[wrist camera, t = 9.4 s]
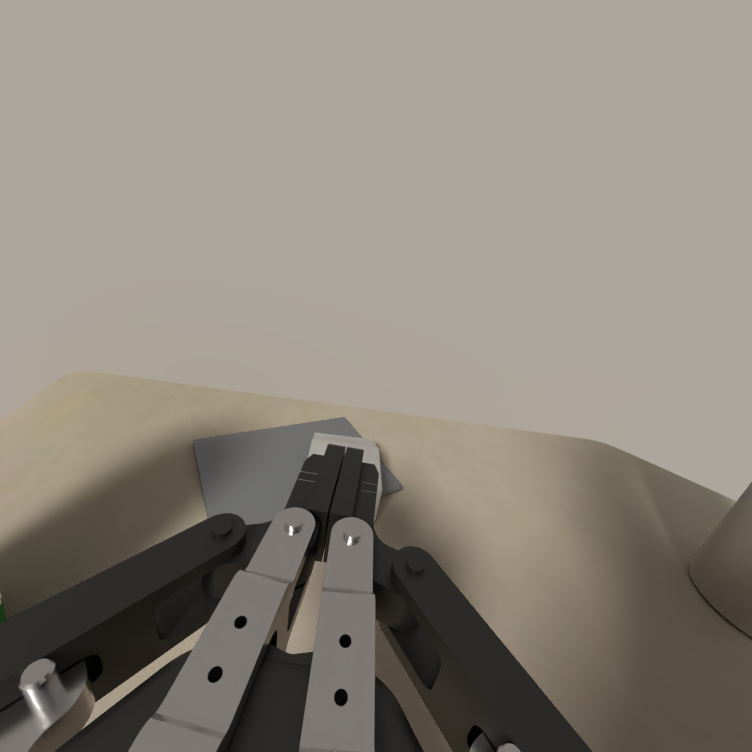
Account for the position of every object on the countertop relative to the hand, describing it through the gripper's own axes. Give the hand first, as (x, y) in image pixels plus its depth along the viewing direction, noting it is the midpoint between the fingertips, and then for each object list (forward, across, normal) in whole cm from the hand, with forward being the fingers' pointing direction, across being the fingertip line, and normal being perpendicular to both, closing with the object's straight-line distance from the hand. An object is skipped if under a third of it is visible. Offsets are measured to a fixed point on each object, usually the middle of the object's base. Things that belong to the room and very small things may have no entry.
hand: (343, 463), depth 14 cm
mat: (+18, +6, +16) cm, 25 cm away
